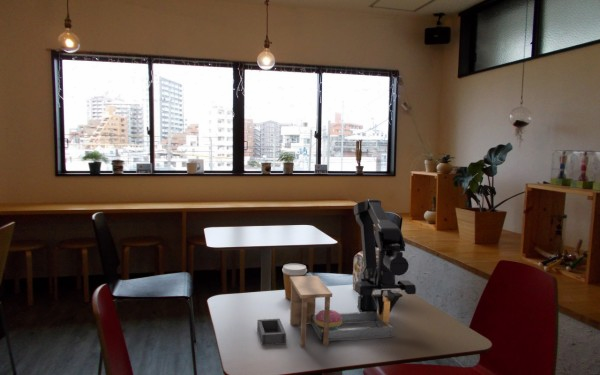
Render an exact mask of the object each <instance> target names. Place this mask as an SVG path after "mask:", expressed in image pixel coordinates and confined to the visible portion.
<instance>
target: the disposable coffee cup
mask: <svg viewBox="0 0 600 375" xmlns="http://www.w3.org/2000/svg"><path fill="white" fill-rule="evenodd" d="M281 270H282V273H283V286H284V296H285V299H287V300H289V301H291V281H290V277H295V276H307V275H306V274H307V272H308V269H307V266H306V265H304V264H303V263H302V264H301V263H287V264H284V265H283V267H282V269H281Z"/></svg>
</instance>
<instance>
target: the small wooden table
mask: <svg viewBox="0 0 600 375" xmlns="http://www.w3.org/2000/svg"><path fill="white" fill-rule="evenodd" d="M290 281H291V300H290V307H289V308H290V312H289V314H290V315H289V318H290V319H289V324H290V325H300V347H301V348H306V344H307V343H306V342H307V341H306V340H307V339H306V338H307V324H311V315H316V298H317V299H318V298H324V309H323V310H324V335H323V342H322V344H323V346H324V347H325V346H327V347H328V346H329V341H328V338H329V314H330V310H331V309H330V308H331V298H333V293H332V291H331V290H330V289H329V288H328V287H327V286H326V284H325V283H324V282H323V281H322V279H321V278H320V277H319V275H305V276H295V277H290Z"/></svg>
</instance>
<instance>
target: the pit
mask: <svg viewBox="0 0 600 375" xmlns="http://www.w3.org/2000/svg"><path fill="white" fill-rule="evenodd" d="M256 324H257V326H256V327H257V328H256V329H257V333H258V336H259V340H260V343H261V346H266V345H281V344H282V345H283V344H287V343H286V342H287V340H286V338H287V332H286V331H285V328H284V326H283V324H282V321H281V319H280V318H267V319H266V318H264V319H257V323H256Z"/></svg>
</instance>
